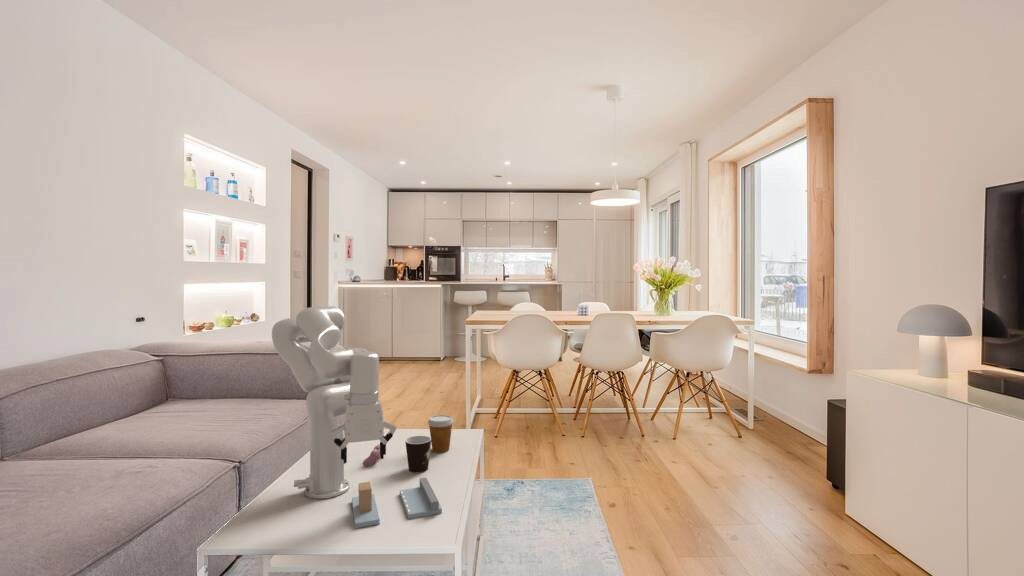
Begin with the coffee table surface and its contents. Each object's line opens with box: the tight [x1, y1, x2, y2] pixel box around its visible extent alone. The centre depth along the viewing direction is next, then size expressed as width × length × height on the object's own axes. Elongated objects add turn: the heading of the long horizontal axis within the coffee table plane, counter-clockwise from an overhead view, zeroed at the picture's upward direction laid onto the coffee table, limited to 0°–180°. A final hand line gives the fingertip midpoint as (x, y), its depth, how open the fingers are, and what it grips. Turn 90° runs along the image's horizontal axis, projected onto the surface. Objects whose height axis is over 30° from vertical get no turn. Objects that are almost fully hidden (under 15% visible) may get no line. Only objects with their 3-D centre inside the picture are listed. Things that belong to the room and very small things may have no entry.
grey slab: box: [351, 481, 380, 529], centre depth 131 cm, size 6×16×7 cm, turn 21°
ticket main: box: [399, 477, 443, 520], centre depth 137 cm, size 9×17×4 cm, turn 21°
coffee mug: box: [404, 435, 432, 474], centre depth 163 cm, size 12×9×10 cm
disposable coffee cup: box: [427, 414, 454, 453], centre depth 180 cm, size 10×10×12 cm
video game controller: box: [362, 444, 381, 467], centre depth 169 cm, size 10×5×7 cm, turn 179°
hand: (363, 459), depth 131 cm, fingers open, 9 cm apart
